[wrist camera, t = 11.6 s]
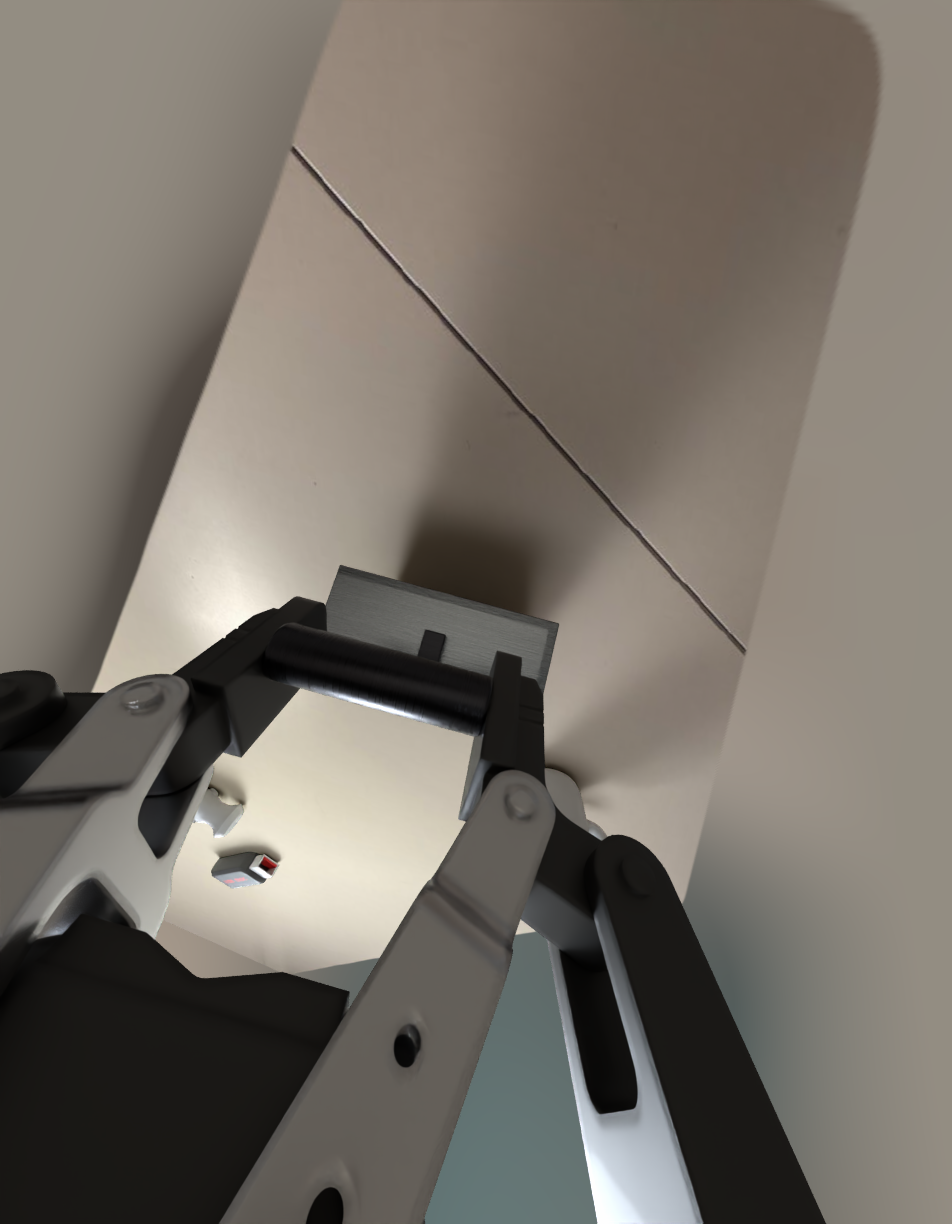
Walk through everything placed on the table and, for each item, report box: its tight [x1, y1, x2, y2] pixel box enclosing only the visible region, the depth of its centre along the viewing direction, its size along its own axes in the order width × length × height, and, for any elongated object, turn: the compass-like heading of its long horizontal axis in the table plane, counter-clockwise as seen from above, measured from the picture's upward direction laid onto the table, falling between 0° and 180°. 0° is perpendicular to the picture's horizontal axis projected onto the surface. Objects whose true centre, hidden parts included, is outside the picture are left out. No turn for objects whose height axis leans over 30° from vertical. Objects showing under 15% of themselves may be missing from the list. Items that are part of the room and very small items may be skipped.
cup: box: [545, 768, 607, 841], centre depth 32 cm, size 11×8×8 cm
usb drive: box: [211, 852, 279, 888], centre depth 57 cm, size 5×12×3 cm, turn 123°
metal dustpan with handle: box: [262, 565, 559, 737], centre depth 17 cm, size 11×20×5 cm
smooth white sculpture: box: [192, 788, 244, 837], centre depth 47 cm, size 4×8×5 cm
